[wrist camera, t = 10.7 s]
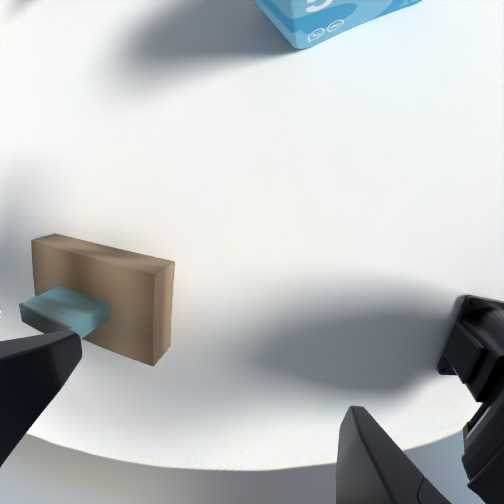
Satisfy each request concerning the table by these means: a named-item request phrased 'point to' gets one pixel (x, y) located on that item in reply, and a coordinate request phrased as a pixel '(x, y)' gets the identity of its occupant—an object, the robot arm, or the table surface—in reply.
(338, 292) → the table surface
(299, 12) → the data package
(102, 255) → the brown display base
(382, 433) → the robot arm
